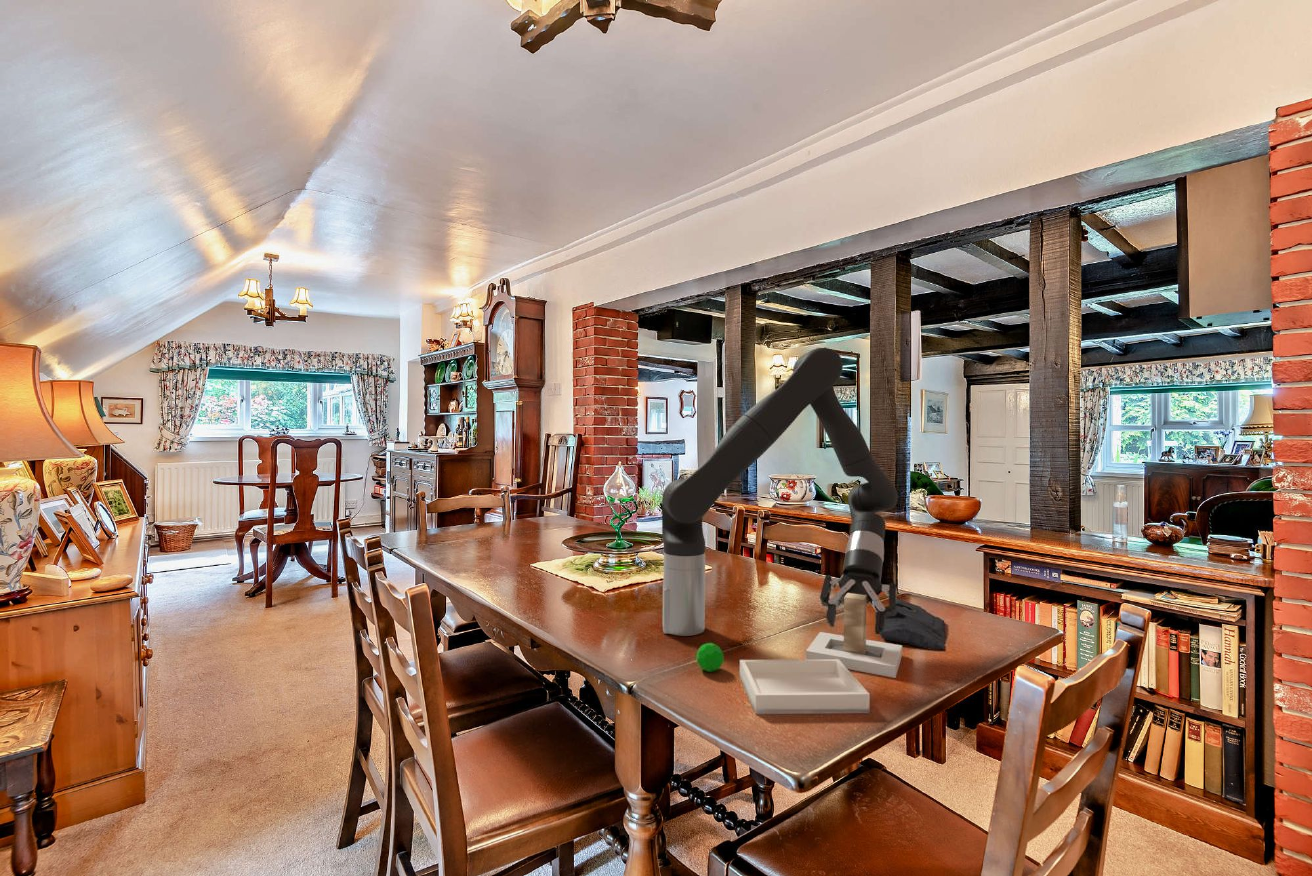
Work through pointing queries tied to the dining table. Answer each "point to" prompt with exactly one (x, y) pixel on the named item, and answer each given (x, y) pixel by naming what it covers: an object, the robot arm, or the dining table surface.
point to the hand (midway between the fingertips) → (854, 628)
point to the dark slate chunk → (914, 627)
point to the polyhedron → (709, 657)
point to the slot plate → (858, 655)
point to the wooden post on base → (855, 626)
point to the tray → (802, 687)
